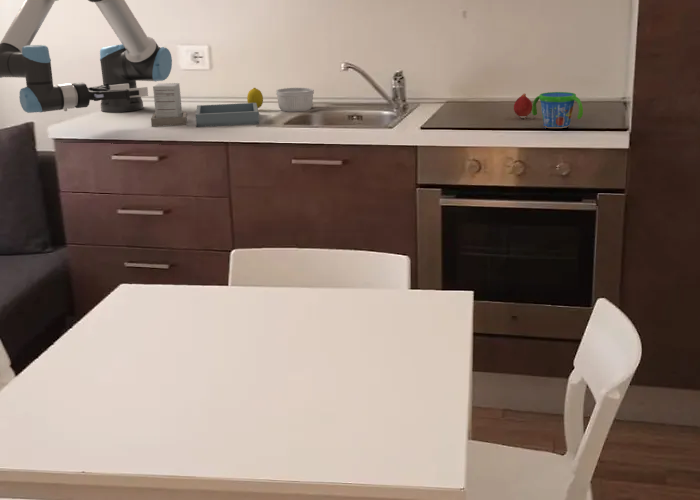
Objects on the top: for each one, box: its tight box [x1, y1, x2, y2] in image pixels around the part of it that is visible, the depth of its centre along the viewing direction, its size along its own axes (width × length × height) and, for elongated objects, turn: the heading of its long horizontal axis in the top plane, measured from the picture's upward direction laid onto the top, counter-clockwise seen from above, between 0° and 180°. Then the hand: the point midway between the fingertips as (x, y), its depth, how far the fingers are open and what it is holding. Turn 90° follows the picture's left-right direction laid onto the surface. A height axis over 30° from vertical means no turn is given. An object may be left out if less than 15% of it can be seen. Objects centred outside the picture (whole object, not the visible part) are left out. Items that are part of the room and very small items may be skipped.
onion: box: [513, 93, 533, 117], centre depth 279 cm, size 6×6×8 cm
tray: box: [195, 102, 260, 128], centre depth 292 cm, size 20×20×4 cm
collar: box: [150, 111, 188, 127], centre depth 291 cm, size 11×11×2 cm
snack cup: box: [531, 91, 584, 127], centre depth 261 cm, size 16×10×10 cm
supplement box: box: [152, 82, 183, 118], centre depth 289 cm, size 7×7×13 cm
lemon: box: [246, 87, 264, 109], centre depth 310 cm, size 6×6×8 cm
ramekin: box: [275, 87, 315, 113], centre depth 310 cm, size 13×13×7 cm
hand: (138, 89), depth 281 cm, fingers open, 13 cm apart
